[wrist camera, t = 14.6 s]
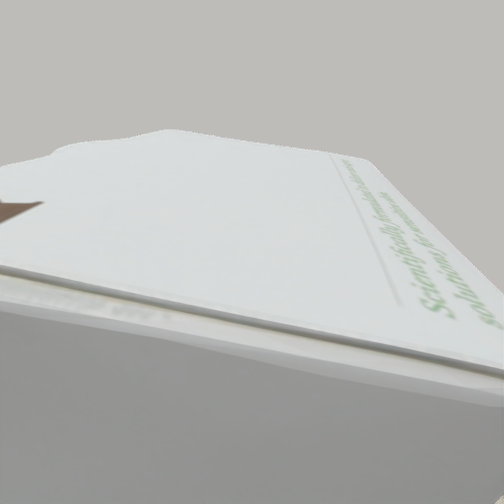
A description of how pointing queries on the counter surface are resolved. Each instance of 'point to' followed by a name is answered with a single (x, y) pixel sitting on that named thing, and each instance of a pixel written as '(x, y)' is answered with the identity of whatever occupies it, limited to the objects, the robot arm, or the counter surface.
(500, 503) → the counter surface
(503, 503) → the counter surface
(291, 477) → the skincare box
